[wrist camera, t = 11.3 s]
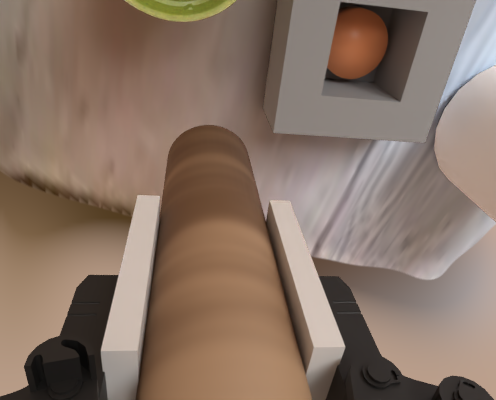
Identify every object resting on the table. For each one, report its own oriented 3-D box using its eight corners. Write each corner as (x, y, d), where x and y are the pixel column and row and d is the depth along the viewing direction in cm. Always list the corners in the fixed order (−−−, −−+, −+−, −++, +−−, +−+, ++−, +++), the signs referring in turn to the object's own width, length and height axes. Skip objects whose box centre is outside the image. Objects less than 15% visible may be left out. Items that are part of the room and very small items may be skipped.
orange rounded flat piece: (323, 2, 30) (330, 5, 29) (386, 9, 31) (396, 12, 30) (311, 70, 33) (316, 76, 31) (369, 75, 34) (377, 81, 32)
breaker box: (285, -59, 28) (302, -62, 24) (443, -37, 30) (488, -36, 25) (262, 108, 34) (273, 132, 30) (395, 118, 36) (424, 142, 32)
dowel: (168, 122, 19) (97, 567, 5) (253, 128, 19) (390, 540, 6) (166, 196, 21) (113, 657, 7) (244, 200, 21) (328, 630, 8)
